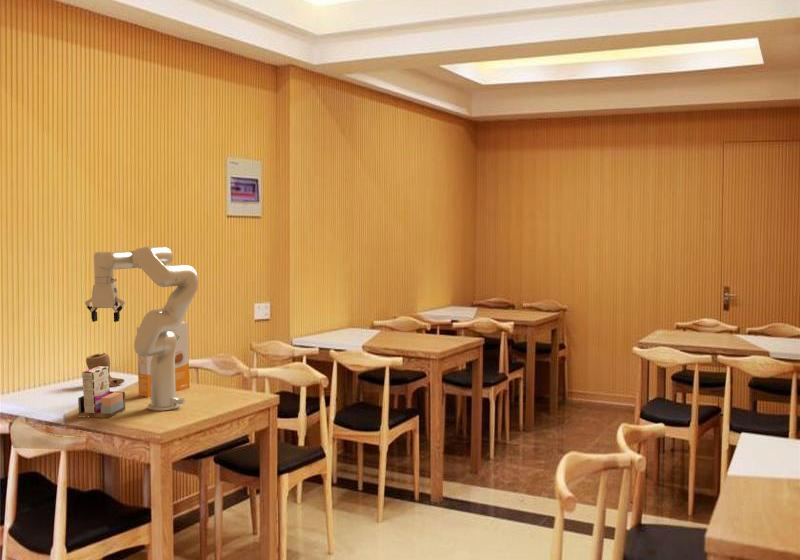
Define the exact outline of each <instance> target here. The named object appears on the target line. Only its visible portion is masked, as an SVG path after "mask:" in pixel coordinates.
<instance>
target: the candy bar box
mask: <svg viewBox="0 0 800 560" xmlns="http://www.w3.org/2000/svg"><path fill="white" fill-rule="evenodd" d="M81 374H82V390H83V396H84V412H85V413H98V412H100V411H101V405H102V402H101V398H103V397H105V396H107V395H109V394H110V391H111V389H110V387H111V386H109V367H104V366H98V367H95V368H92V369H90V370H89V369H87V370H85V371H82V373H81Z"/></svg>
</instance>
